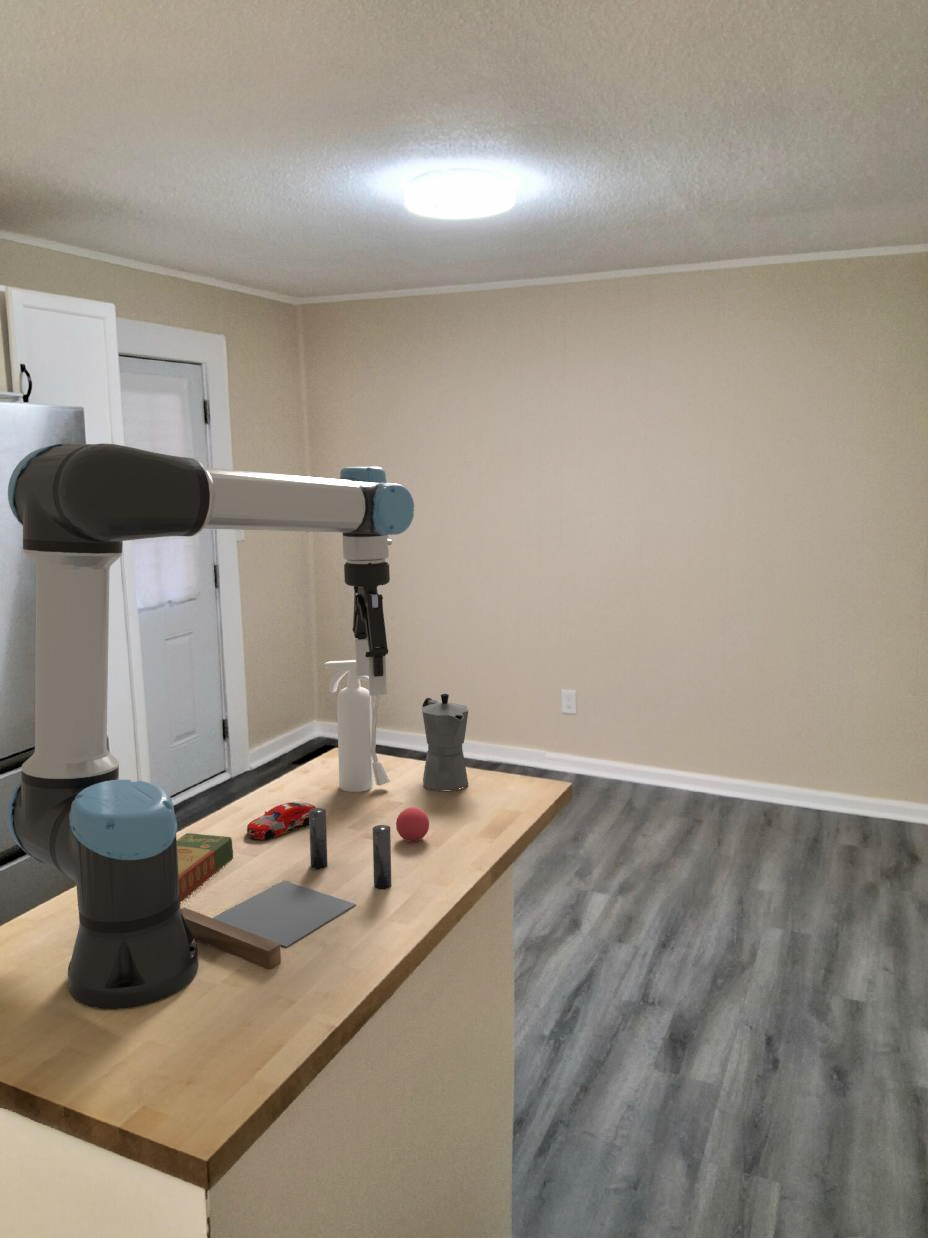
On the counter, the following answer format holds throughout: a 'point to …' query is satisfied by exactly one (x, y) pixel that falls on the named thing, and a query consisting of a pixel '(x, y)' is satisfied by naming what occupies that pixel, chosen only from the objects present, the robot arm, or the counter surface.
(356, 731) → the fire extinguisher
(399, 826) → the ball
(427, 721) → the coffeepot
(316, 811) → the far post
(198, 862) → the carton
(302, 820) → the race car
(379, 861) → the near post
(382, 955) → the counter surface
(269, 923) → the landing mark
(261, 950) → the stopper wall
